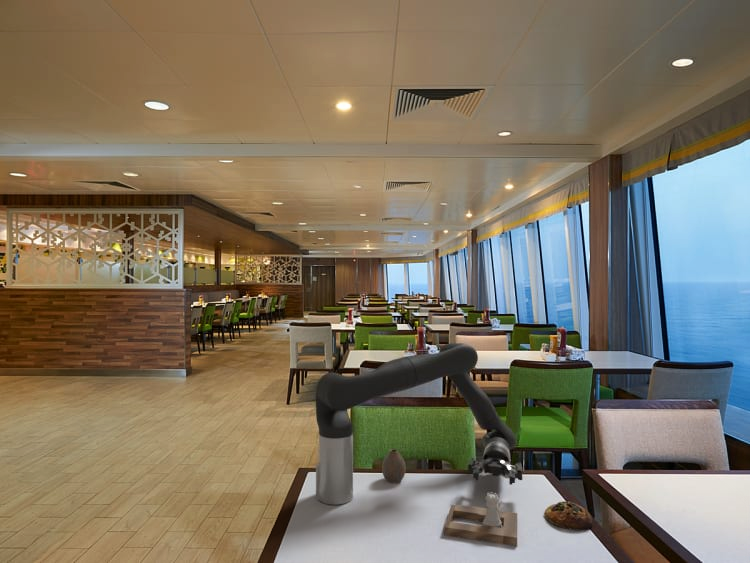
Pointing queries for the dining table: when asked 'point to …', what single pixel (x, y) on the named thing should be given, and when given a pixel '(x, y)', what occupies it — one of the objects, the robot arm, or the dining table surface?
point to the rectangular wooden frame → (480, 531)
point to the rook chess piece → (492, 511)
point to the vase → (393, 467)
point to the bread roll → (568, 516)
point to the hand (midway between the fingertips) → (493, 478)
